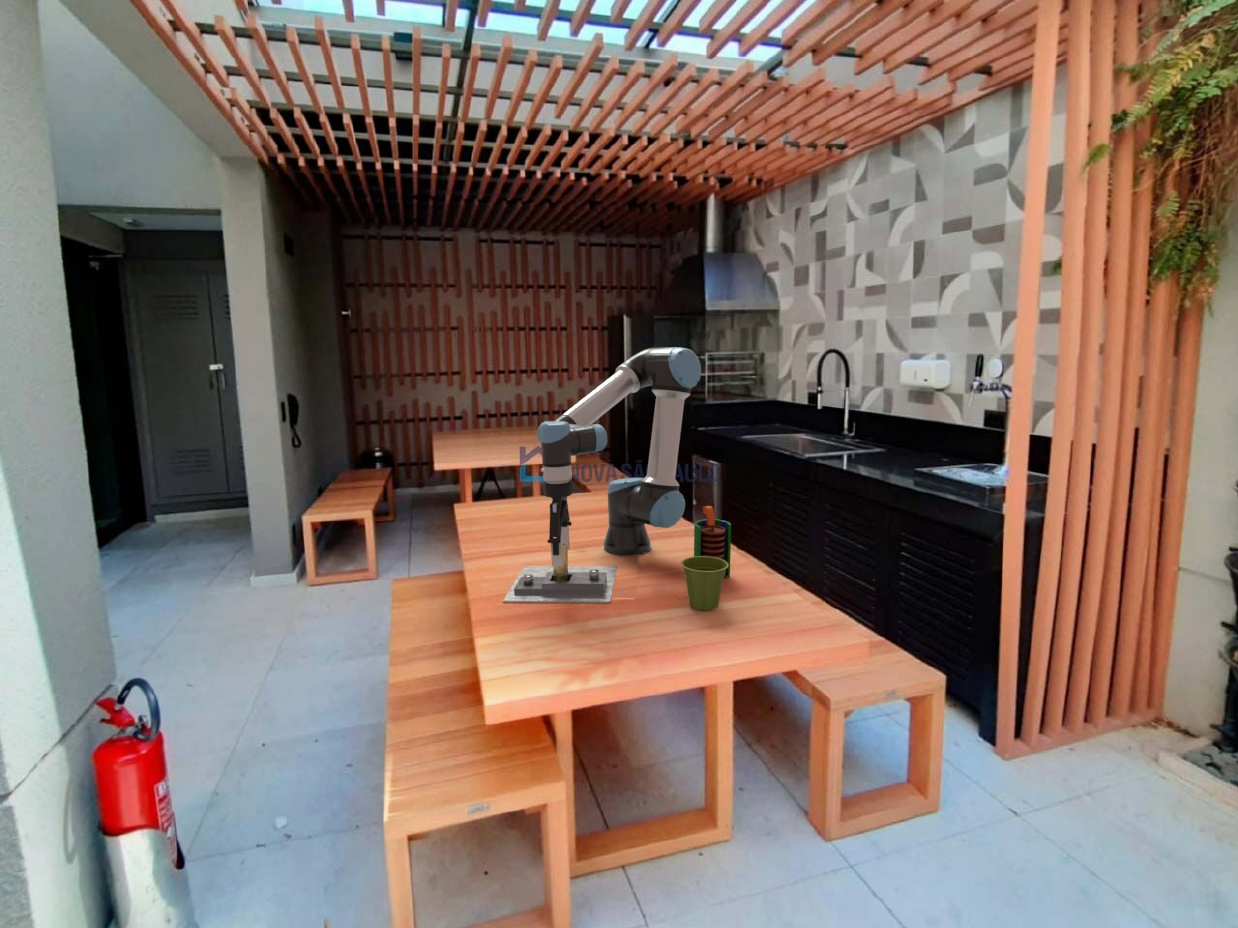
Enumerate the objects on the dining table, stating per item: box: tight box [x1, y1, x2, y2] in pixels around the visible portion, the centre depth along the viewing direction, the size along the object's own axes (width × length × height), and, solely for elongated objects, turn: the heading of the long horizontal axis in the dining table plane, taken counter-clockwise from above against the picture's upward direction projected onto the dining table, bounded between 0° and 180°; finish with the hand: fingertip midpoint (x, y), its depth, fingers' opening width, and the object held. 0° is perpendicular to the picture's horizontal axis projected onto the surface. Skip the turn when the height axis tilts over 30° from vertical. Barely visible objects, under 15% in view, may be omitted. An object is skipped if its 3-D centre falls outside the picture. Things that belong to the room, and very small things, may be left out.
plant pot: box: [680, 556, 729, 611], centre depth 166 cm, size 12×12×11 cm
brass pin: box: [553, 544, 569, 581], centre depth 178 cm, size 4×4×12 cm
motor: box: [693, 505, 732, 581], centre depth 186 cm, size 10×9×20 cm
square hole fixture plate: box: [502, 565, 618, 604], centre depth 183 cm, size 28×27×6 cm
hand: (561, 557), depth 178 cm, fingers open, 13 cm apart
